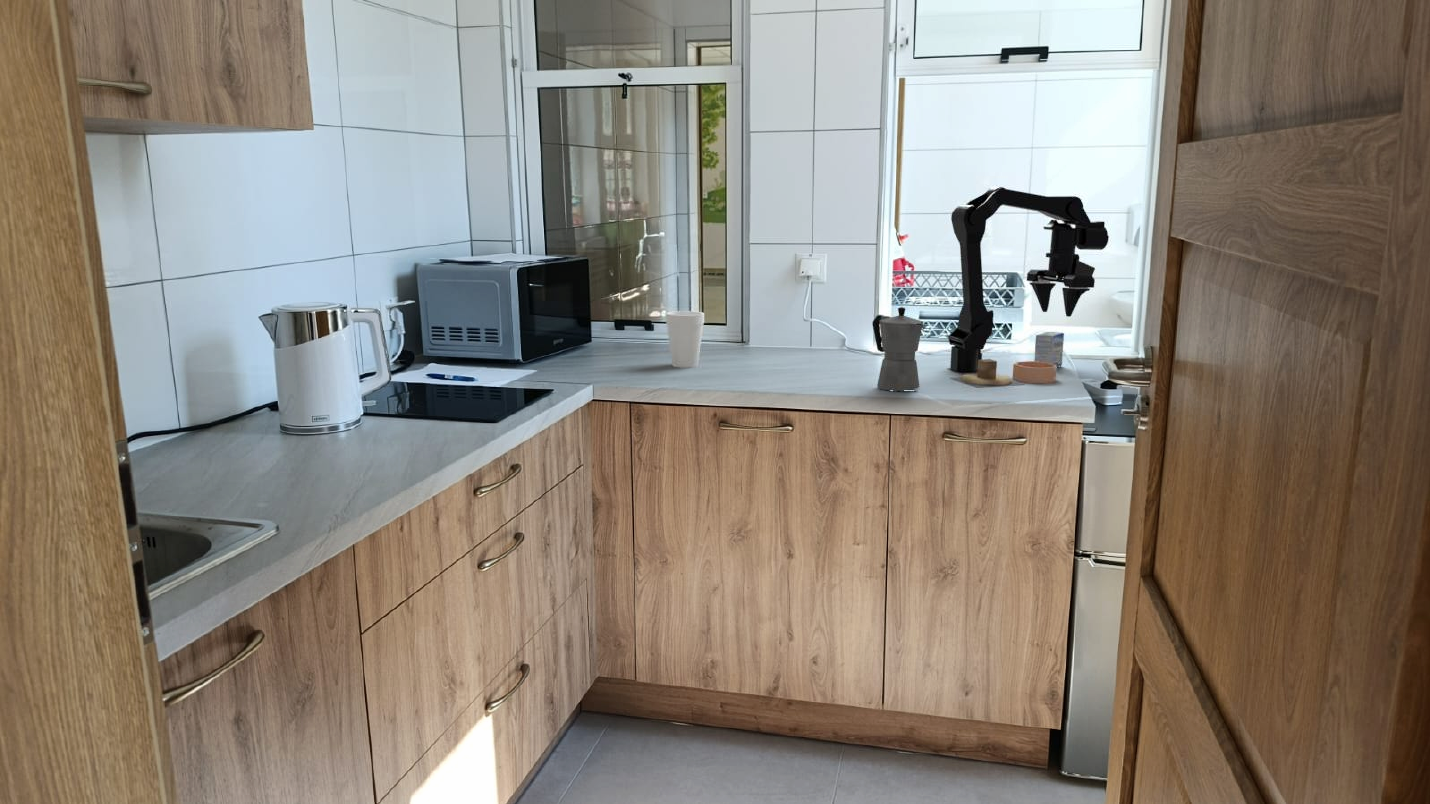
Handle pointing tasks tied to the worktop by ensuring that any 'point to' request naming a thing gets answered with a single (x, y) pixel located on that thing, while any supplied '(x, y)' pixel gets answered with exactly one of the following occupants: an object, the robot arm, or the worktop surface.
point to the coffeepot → (898, 350)
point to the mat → (986, 386)
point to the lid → (986, 375)
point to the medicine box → (1049, 348)
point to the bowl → (1034, 372)
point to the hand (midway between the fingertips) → (1056, 314)
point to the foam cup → (685, 337)
